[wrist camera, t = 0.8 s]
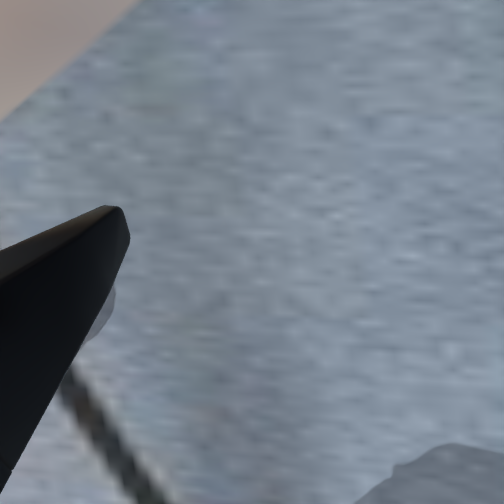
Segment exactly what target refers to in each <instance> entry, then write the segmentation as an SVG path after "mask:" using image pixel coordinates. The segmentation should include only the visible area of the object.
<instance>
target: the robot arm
mask: <svg viewBox="0 0 504 504" xmlns="http://www.w3.org/2000/svg"><path fill="white" fill-rule="evenodd" d="M129 243H130V233H129V229H128V226H127V223H126V219H125V216H124V213H123V210H122V209H121V208H120V207H118V206H107V205H104V206H101V207H98V208H96V209H94V210H92V211H89V212H87V213H85V214H82V215H80V216H78V217H76V218H73V219H71V220H69V221H67V222H64V223H62V224H60V225H58V226H55V227H53V228H51V229H49V230H46V231H44V232H42V233H40V234H37V235H35V236H33V237H30V238H28V239H26V240H24V241H21V242H19V243H17V244H15V245H12V246H10V247H8V248H6V249H3V250H1V251H0V493H1V492H2V490H3V488H4V486H5V484H6V482H7V481H8V479H9V477H10V475H11V473H12V471H11V470H13V469H14V467H15V465H16V464H17V462H18V460H19V458H20V456H21V454H22V453H23V451H24V449H25V447H26V445H27V443H28V442H29V440H30V438H31V436H32V434H33V433H34V431H35V429H36V427H37V425H38V423H39V422H40V420H41V418H42V416H43V414H44V412H45V411H46V409H47V407H48V405H49V403H50V401H51V400H52V398H53V396H54V394H55V392H56V390H57V389H58V387H59V385H60V383H61V381H62V379H63V378H64V376H65V374H66V372H67V370H68V368H69V367H70V365H71V363H72V361H73V359H74V357H75V356H76V354H77V352H78V350H79V348H80V346H81V345H82V343H83V341H84V339H85V337H86V335H87V334H88V332H89V330H90V328H91V326H92V324H93V323H94V321H95V319H96V317H97V315H98V313H99V312H100V310H101V308H102V306H103V304H104V302H105V300H106V298H107V297H108V294H109V292H110V290H111V288H112V286H113V283H114V281H115V278H116V276H117V273H118V271H119V268H120V266H121V263H122V261H123V259H124V256H125V254H126V251H127V249H128V246H129Z"/></svg>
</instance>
